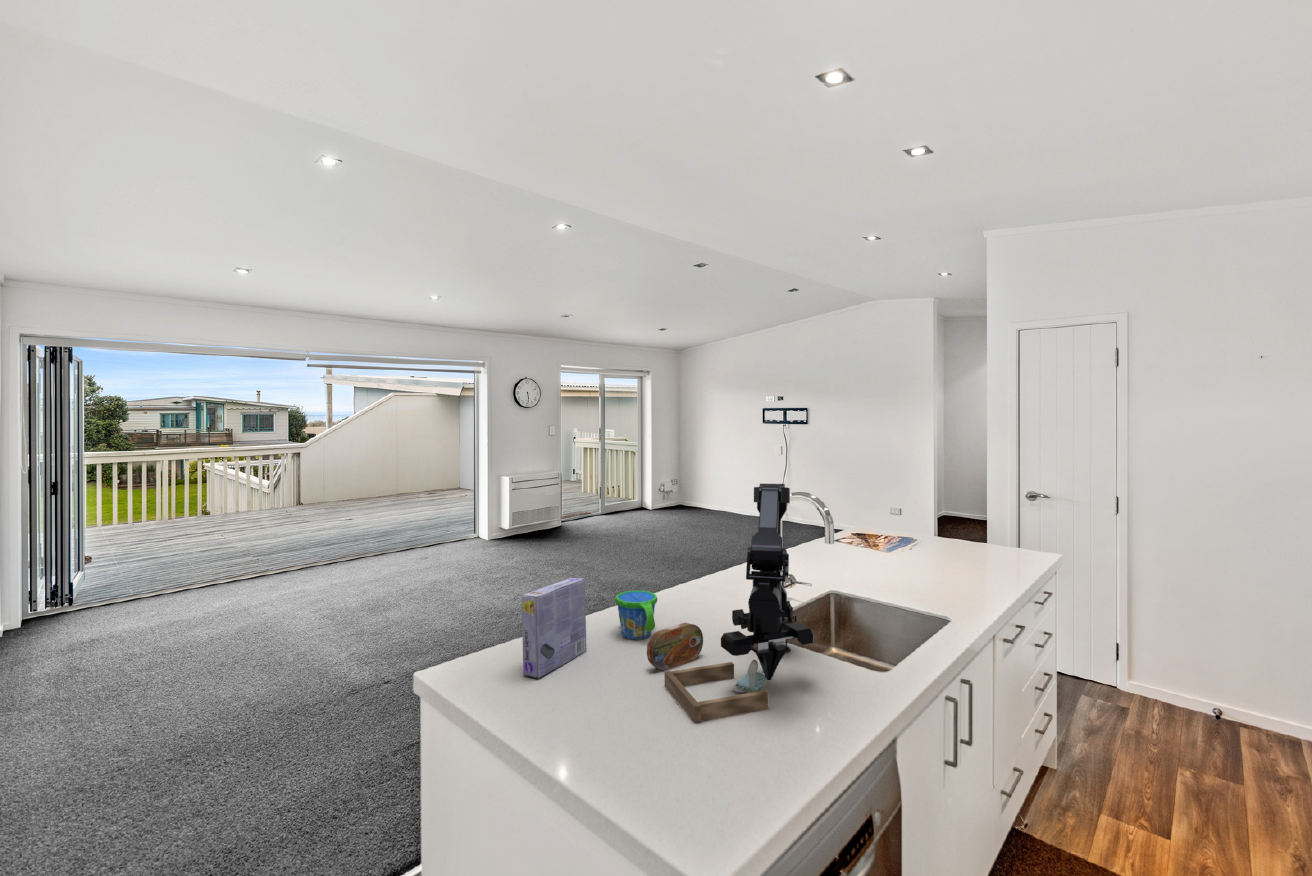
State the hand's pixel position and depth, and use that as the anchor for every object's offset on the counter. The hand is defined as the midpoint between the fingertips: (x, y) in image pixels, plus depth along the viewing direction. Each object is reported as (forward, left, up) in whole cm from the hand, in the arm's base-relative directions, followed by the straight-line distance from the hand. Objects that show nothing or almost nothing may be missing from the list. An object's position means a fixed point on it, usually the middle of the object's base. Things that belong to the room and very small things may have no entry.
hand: (768, 679), depth 119 cm
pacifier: (+4, -1, -2) cm, 5 cm away
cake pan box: (+38, -28, -2) cm, 48 cm away
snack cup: (+16, -38, -2) cm, 42 cm away
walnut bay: (+12, 0, -2) cm, 13 cm away
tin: (+13, -18, -2) cm, 23 cm away
